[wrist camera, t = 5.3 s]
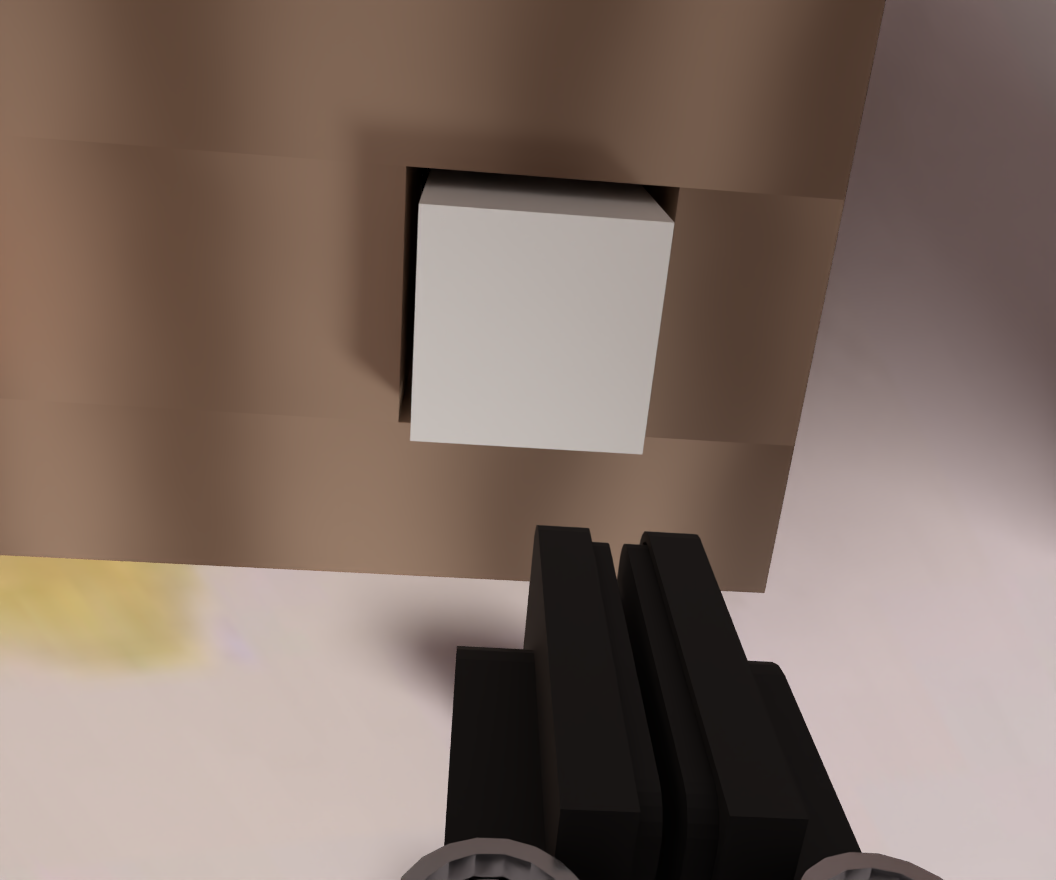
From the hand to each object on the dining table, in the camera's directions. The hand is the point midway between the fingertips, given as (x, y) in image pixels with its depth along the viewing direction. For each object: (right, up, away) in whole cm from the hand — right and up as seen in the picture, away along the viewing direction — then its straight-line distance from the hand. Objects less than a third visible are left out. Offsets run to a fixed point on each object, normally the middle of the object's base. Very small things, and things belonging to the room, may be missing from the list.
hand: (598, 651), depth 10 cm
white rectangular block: (-1, +7, +17) cm, 18 cm away
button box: (-8, +8, +17) cm, 20 cm away
